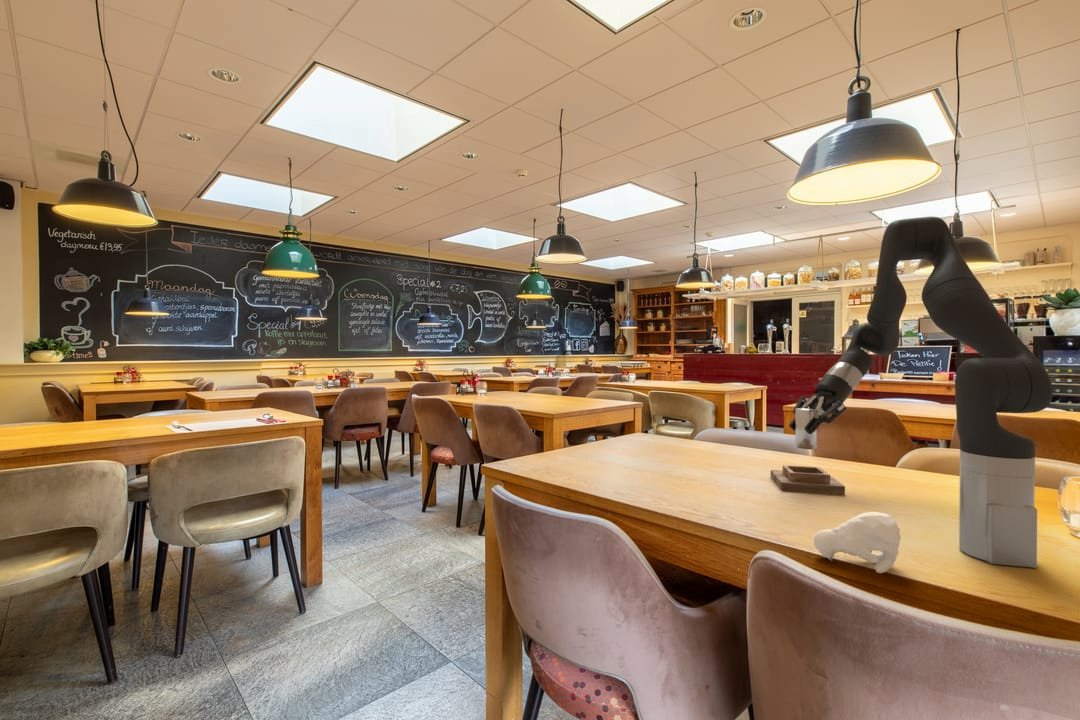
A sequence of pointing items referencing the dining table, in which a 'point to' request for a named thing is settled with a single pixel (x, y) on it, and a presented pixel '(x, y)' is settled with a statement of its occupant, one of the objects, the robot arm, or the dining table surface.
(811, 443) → the steel canister
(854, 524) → the white animal figurine
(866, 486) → the dining table surface
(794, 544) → the dining table surface
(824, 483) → the plate
